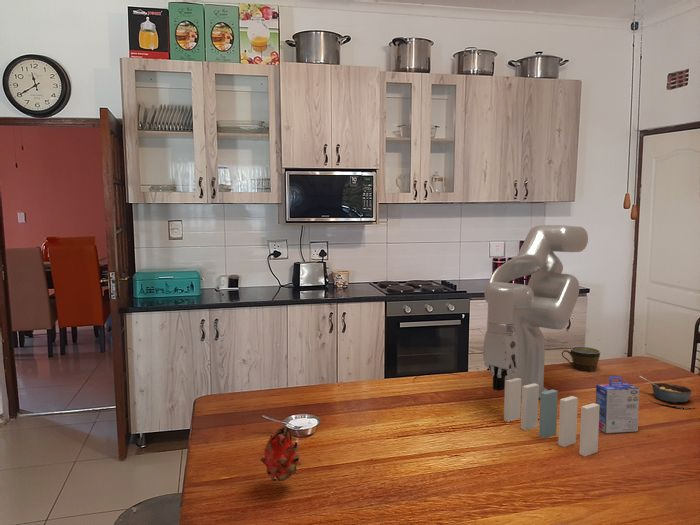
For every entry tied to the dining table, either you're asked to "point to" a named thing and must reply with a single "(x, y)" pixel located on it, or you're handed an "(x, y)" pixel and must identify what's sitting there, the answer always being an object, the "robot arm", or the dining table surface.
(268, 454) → the dragon fruit
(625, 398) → the ink cartridge box
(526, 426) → the domino
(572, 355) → the ceramic cup
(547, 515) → the dining table surface
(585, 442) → the domino
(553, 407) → the domino
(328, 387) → the dining table surface
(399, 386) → the dining table surface
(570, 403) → the domino
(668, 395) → the soup bowl
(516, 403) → the domino
